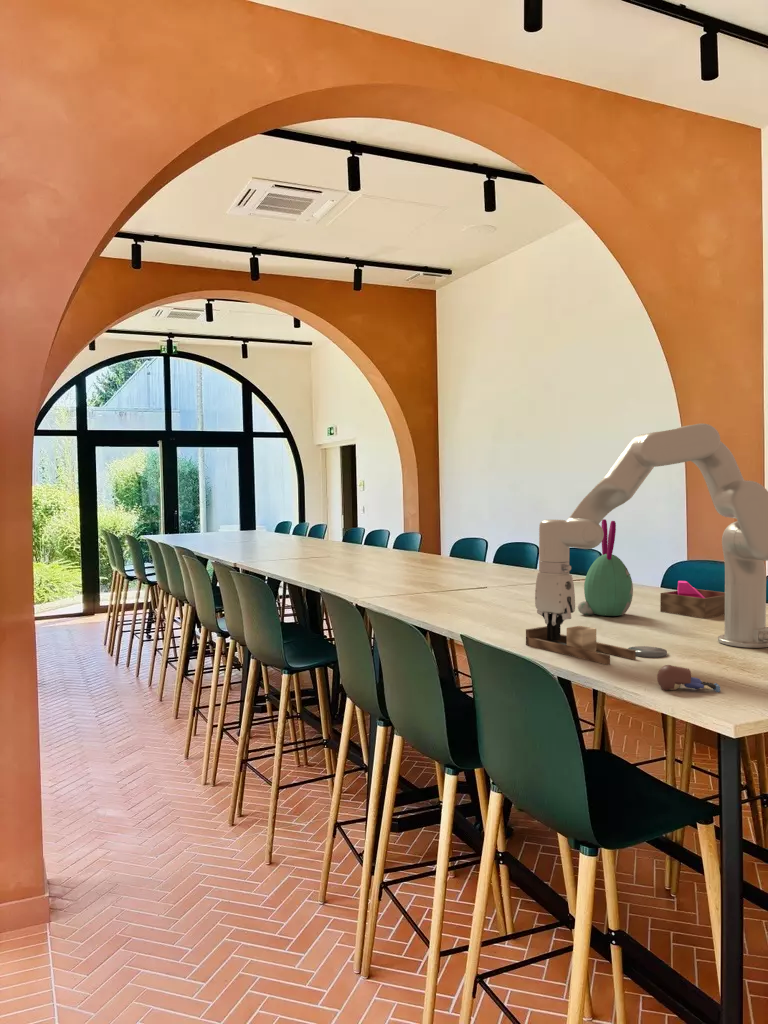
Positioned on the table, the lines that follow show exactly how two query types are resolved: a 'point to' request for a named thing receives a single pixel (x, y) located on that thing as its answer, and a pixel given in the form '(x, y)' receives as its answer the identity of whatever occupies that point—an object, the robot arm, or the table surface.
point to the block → (582, 637)
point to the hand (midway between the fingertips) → (553, 639)
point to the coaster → (649, 651)
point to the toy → (607, 581)
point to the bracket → (688, 590)
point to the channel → (539, 640)
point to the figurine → (681, 679)
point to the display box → (694, 604)
